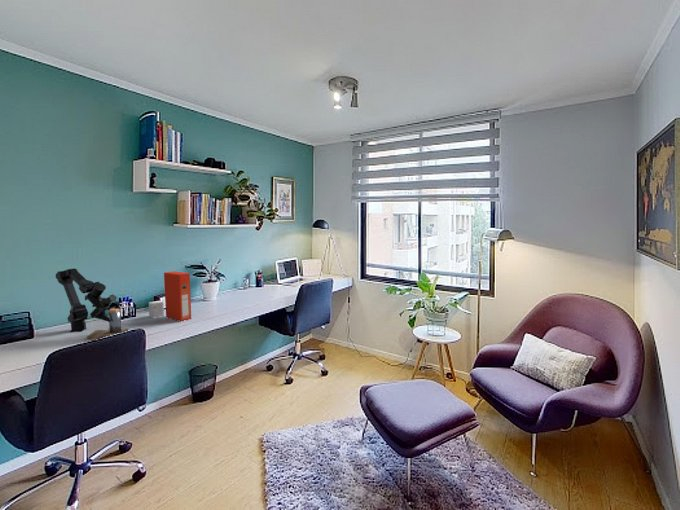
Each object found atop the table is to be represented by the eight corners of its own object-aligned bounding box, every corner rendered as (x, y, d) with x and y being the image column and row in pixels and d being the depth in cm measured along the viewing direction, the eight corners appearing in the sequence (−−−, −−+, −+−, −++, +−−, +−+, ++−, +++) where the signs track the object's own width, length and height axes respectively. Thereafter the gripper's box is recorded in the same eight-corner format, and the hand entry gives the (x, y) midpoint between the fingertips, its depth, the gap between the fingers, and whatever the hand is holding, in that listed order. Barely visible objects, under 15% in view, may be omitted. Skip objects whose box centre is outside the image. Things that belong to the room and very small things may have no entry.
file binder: (180, 321, 242) (179, 274, 239) (165, 317, 252) (163, 272, 248) (191, 319, 249) (189, 273, 246) (176, 315, 258) (174, 271, 255)
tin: (108, 333, 210) (106, 313, 209) (112, 330, 216) (111, 311, 215) (119, 333, 211) (118, 313, 210) (123, 330, 217) (122, 310, 216)
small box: (160, 314, 260) (160, 300, 259) (164, 316, 256) (163, 301, 255) (148, 317, 253) (148, 302, 252) (152, 318, 250) (151, 303, 249)
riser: (87, 339, 206) (86, 336, 205) (95, 333, 216) (95, 330, 216) (122, 337, 210) (121, 334, 209) (128, 331, 220) (128, 328, 220)
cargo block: (108, 313, 210) (108, 310, 210) (112, 311, 214) (112, 308, 214) (116, 312, 211) (115, 310, 211) (119, 311, 215) (119, 308, 215)
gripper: (94, 294, 202) (114, 314, 203) (116, 288, 221) (134, 306, 221) (81, 307, 203) (101, 327, 204) (104, 300, 222) (122, 318, 222)
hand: (116, 319), depth 213 cm, fingers open, 9 cm apart
